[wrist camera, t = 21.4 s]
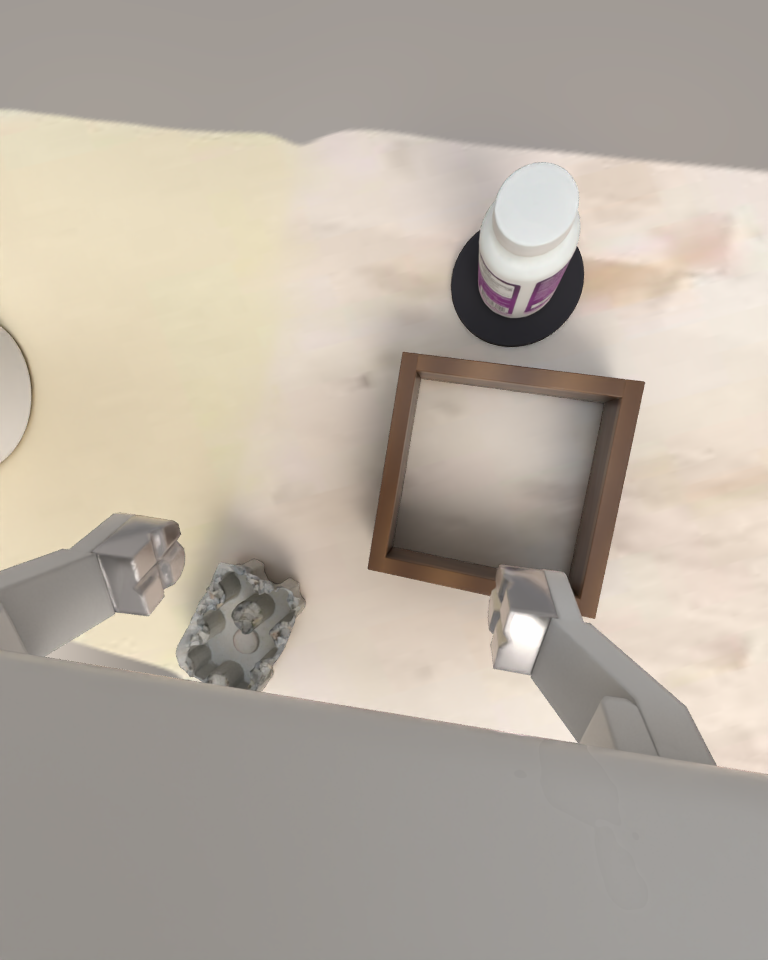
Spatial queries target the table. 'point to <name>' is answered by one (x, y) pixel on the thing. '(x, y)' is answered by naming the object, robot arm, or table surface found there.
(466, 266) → the coaster
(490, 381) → the wooden square frame
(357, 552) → the table surface
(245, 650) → the egg carton
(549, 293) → the pill bottle
